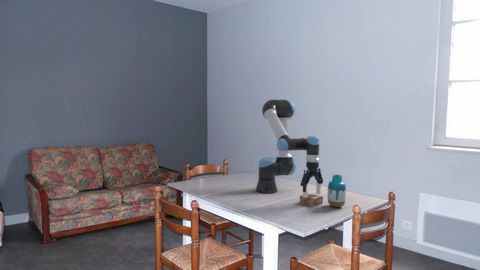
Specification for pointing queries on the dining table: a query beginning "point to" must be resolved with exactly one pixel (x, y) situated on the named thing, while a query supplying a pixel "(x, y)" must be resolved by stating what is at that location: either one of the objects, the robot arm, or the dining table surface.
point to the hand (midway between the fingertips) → (311, 195)
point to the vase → (336, 191)
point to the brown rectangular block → (311, 200)
